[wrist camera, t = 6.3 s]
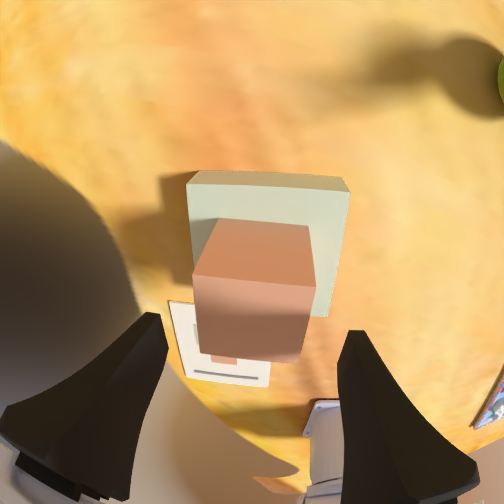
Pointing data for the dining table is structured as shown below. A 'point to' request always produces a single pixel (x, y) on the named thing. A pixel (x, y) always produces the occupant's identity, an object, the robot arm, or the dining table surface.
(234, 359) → the page
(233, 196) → the base brick
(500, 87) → the snail figurine
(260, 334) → the top brick
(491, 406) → the puzzle board
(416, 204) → the dining table surface
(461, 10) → the dining table surface
